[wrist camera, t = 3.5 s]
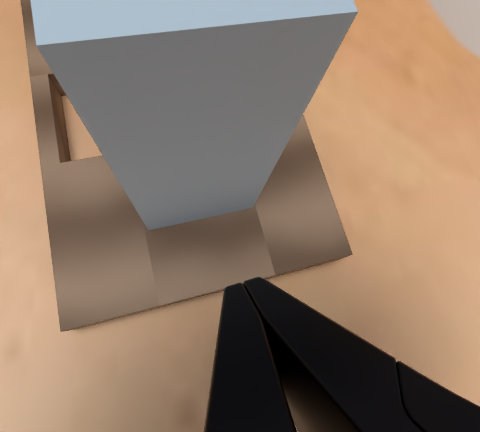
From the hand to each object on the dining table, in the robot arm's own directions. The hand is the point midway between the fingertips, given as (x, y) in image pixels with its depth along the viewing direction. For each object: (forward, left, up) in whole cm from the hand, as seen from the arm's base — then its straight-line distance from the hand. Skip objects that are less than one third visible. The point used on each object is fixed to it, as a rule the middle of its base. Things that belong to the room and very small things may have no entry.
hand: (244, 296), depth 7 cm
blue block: (+5, -6, -10) cm, 13 cm away
